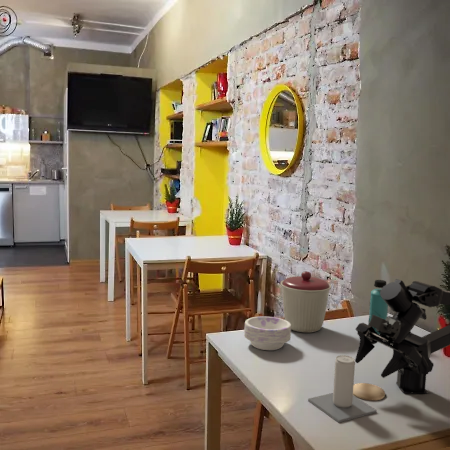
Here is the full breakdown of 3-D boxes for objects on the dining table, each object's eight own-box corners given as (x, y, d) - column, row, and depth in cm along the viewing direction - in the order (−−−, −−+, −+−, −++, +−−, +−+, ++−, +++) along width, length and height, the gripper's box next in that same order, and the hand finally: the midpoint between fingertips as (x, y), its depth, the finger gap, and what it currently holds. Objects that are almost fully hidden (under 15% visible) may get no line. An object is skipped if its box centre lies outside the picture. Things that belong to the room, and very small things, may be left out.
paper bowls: (279, 336, 183) (280, 313, 182) (297, 352, 169) (298, 328, 167) (238, 339, 179) (238, 316, 178) (252, 356, 164) (253, 331, 163)
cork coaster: (379, 385, 146) (379, 383, 146) (389, 400, 137) (389, 398, 137) (346, 384, 146) (346, 382, 146) (355, 400, 137) (355, 398, 137)
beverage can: (338, 397, 137) (341, 353, 135) (355, 403, 134) (358, 358, 132) (329, 404, 133) (332, 358, 131) (346, 410, 130) (349, 364, 128)
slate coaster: (344, 392, 141) (344, 390, 141) (376, 412, 131) (376, 410, 131) (308, 400, 136) (308, 398, 136) (338, 422, 125) (338, 420, 125)
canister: (339, 331, 189) (343, 274, 186) (301, 340, 179) (304, 279, 176) (305, 317, 204) (308, 264, 201) (268, 324, 194) (270, 268, 191)
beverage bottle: (388, 334, 187) (392, 280, 184) (383, 340, 182) (387, 283, 179) (370, 331, 191) (374, 277, 188) (364, 336, 185) (368, 280, 182)
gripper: (363, 294, 144) (329, 339, 140) (418, 316, 128) (381, 367, 124) (381, 317, 149) (349, 361, 145) (436, 340, 133) (402, 391, 130)
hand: (368, 369), depth 136 cm, fingers open, 9 cm apart
